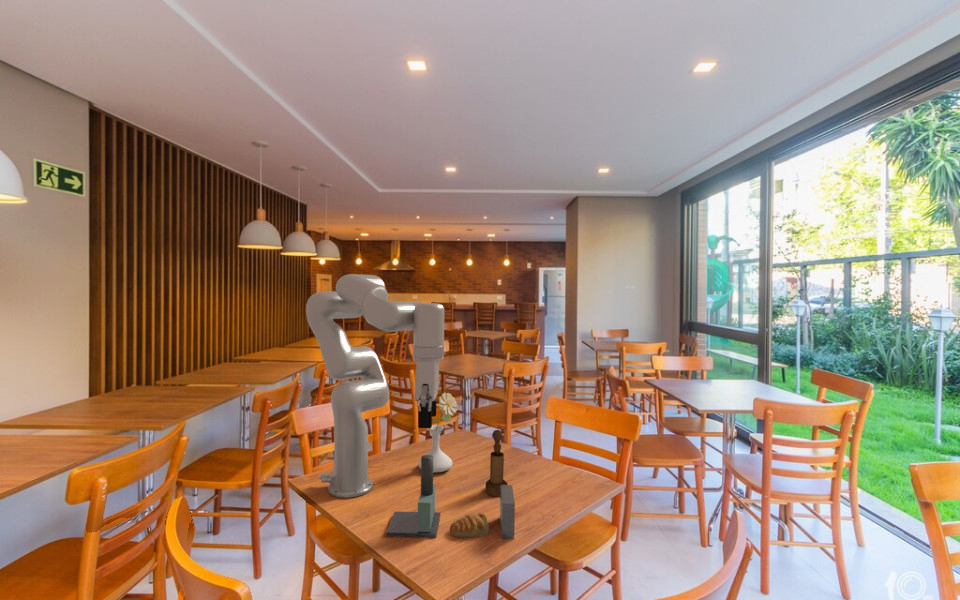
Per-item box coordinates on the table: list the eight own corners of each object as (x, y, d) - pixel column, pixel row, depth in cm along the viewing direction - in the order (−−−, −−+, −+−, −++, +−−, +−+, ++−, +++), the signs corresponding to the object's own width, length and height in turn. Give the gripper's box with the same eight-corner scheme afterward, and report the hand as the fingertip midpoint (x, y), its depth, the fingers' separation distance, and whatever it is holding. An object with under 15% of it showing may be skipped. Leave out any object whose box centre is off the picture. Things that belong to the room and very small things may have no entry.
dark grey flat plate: (385, 536, 104) (385, 532, 104) (394, 515, 114) (394, 511, 114) (436, 537, 104) (436, 533, 104) (440, 516, 114) (440, 512, 114)
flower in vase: (425, 478, 137) (426, 399, 136) (412, 465, 147) (413, 391, 146) (463, 470, 143) (464, 394, 143) (448, 459, 153) (449, 388, 153)
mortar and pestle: (505, 497, 125) (506, 434, 125) (483, 495, 126) (484, 433, 126) (508, 487, 131) (509, 427, 131) (487, 485, 133) (488, 426, 132)
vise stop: (501, 538, 104) (502, 503, 104) (500, 517, 114) (500, 484, 114) (514, 539, 104) (514, 503, 104) (511, 517, 114) (512, 485, 114)
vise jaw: (417, 531, 104) (418, 464, 104) (423, 510, 114) (424, 449, 114) (430, 532, 104) (430, 465, 104) (434, 511, 114) (435, 450, 114)
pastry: (455, 543, 102) (455, 527, 102) (445, 529, 108) (445, 514, 108) (491, 535, 106) (491, 519, 106) (480, 521, 112) (480, 506, 112)
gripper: (418, 348, 117) (417, 412, 117) (407, 357, 100) (406, 432, 100) (446, 348, 117) (445, 412, 117) (440, 358, 100) (439, 433, 100)
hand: (427, 421), depth 109 cm, fingers open, 9 cm apart
